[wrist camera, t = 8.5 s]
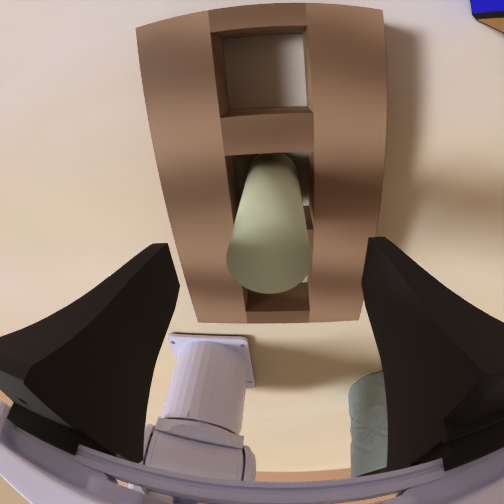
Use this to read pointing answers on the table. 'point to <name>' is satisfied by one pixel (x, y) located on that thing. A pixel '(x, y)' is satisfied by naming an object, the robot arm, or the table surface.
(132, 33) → the table surface
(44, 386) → the robot arm
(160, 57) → the hole block
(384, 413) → the green cup
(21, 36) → the table surface
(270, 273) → the sage peg
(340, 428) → the table surface
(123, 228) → the table surface
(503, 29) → the puzzle cube
